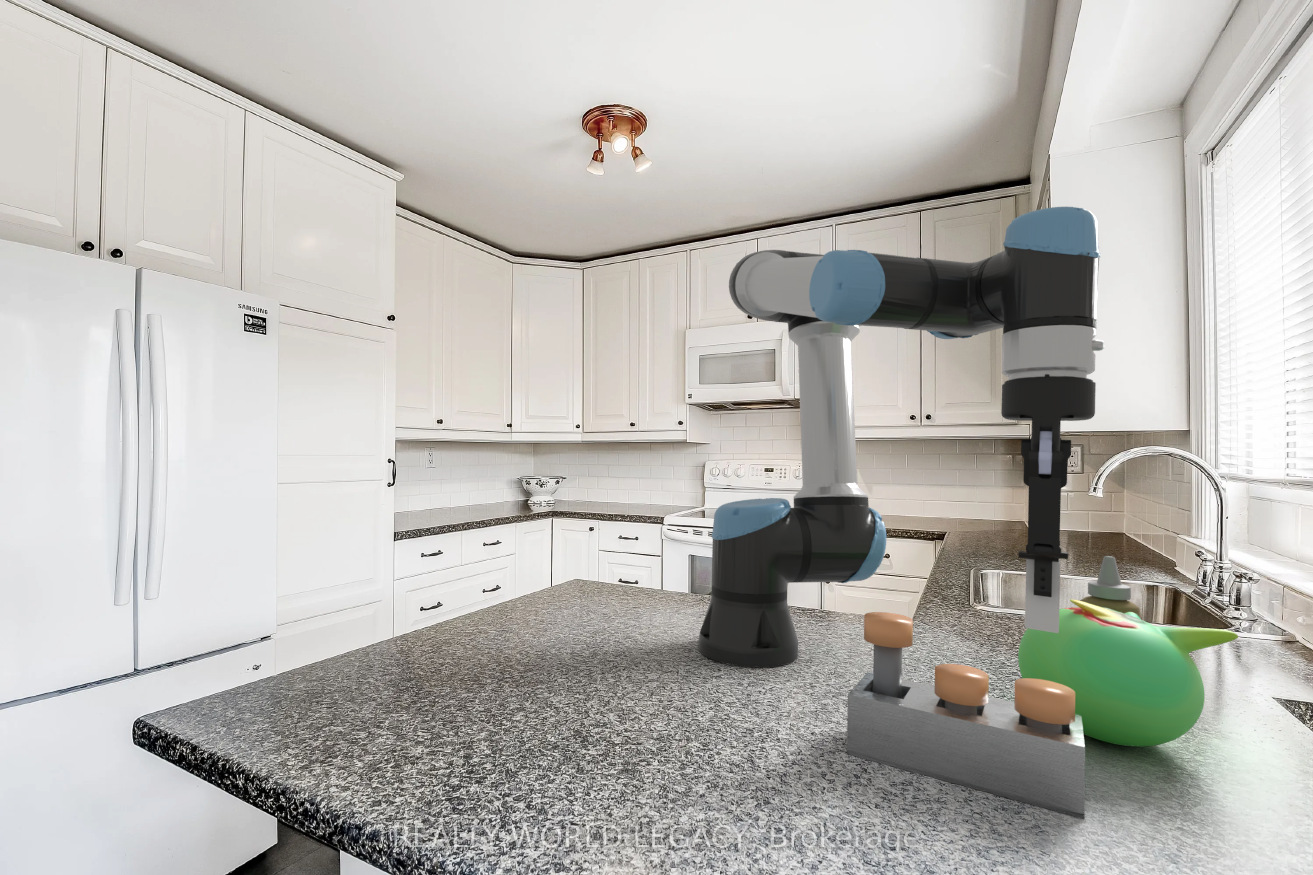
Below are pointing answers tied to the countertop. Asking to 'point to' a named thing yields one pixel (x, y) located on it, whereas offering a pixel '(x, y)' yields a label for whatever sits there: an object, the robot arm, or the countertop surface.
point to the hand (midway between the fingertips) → (1041, 628)
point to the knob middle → (961, 687)
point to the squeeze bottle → (1110, 590)
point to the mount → (969, 745)
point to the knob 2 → (1045, 703)
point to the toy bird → (1123, 672)
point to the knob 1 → (888, 649)
